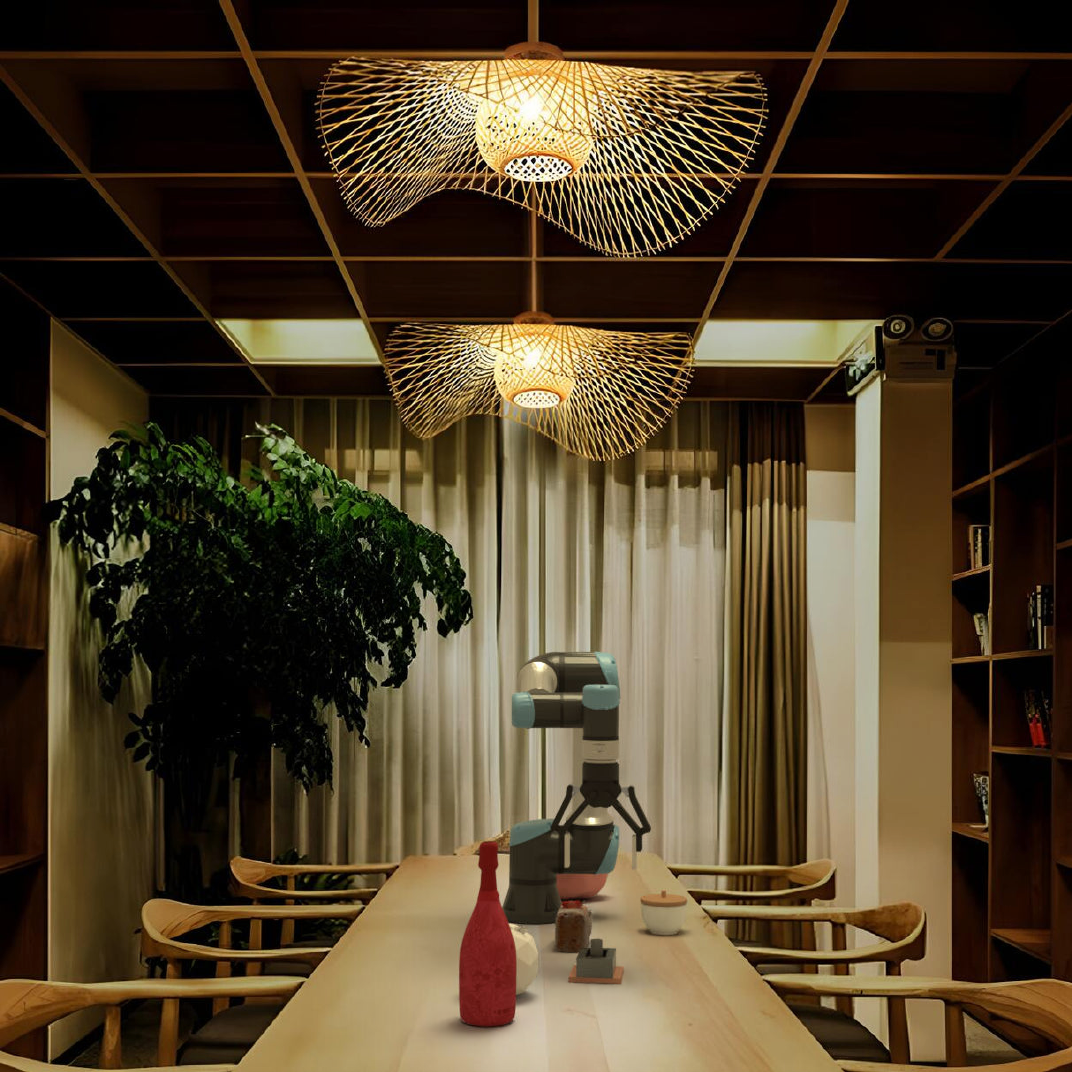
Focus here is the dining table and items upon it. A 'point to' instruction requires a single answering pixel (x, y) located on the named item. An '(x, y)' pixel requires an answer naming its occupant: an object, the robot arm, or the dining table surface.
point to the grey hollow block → (596, 963)
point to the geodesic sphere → (524, 958)
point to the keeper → (617, 978)
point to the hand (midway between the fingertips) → (600, 867)
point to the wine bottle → (487, 953)
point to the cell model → (580, 885)
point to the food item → (572, 926)
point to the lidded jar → (663, 912)
